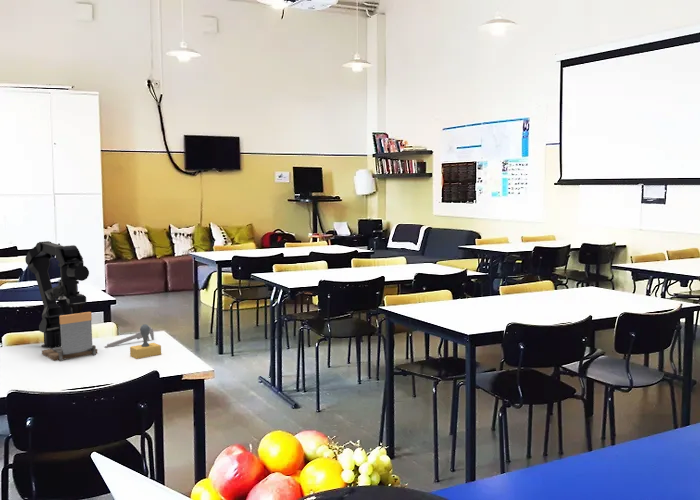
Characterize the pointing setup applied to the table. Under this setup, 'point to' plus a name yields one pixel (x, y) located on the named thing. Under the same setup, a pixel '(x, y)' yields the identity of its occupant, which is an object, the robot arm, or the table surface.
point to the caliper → (131, 338)
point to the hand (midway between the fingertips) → (70, 318)
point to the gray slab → (76, 333)
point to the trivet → (57, 355)
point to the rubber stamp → (145, 346)
